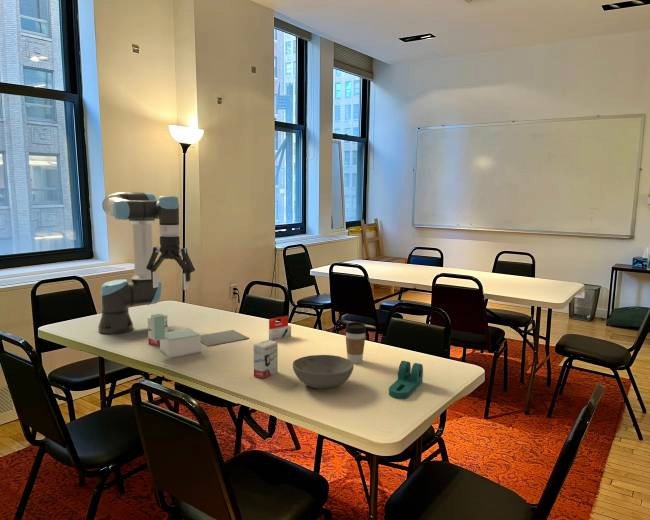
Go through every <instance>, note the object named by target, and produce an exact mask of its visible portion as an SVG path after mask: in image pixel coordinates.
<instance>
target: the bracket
mask: <svg viewBox="0 0 650 520" xmlns="http://www.w3.org/2000/svg"><path fill="white" fill-rule="evenodd" d="M398 366H399V367H398V371H397V379H396V380H395V382H393V383H392V384H391V385H390V386H389V387H388V395H389V397H391V398H393V399H396V400H404V399H407V398H409V397H410V396H411V395H412V394H413V393H414V392H415V391H416V390H417V389H418V388H419V386H421V385H422V384H423V379H424V378H423V376H424V366H423V364H422V363H418V362H414V363H413V364H412V366H411V362H410V361H408V360H407V361H406V360H401V361H400V363H399V365H398Z"/></svg>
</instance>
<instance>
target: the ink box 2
mask: <svg viewBox="0 0 650 520" xmlns="http://www.w3.org/2000/svg"><path fill="white" fill-rule="evenodd" d="M278 344H279V343H278V341H276V340H275V341H271V340H269V339H265V340H263V341H262V340H261V341H260V342H257V343H254V345H253V377H255V378H259V379H263V380H265V379H267V378H268V377H270V376H273V375H274V374H277V373H278V366H279V365H278V361H279V359H278V355H279V354H278V352H279V350H278V346H279V345H278Z"/></svg>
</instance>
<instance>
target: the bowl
mask: <svg viewBox="0 0 650 520" xmlns="http://www.w3.org/2000/svg"><path fill="white" fill-rule="evenodd" d="M354 365H355V364H353V363H352V362H351V361H350V360H348V359H347V357H346V358H345V357H343V356H339V355H332V354H331V355H330V354H317V355H316V354H313V355H307V356H302V357H300V358H297V359H295V360H293V362H292V369H293V370H292V371H294V374H295V375H296V377H297V379H298V380H299V381H301V383H303V384H305V385H306V386H308V387H311V388H314V389H321V390H325V389H326V390H327V389H333V388H337V387H340V386H341V385H343V384H344V383H346V382H347V381H348V380H349V379H350V377H351V375H352V373H353V371H354V367H355V366H354Z"/></svg>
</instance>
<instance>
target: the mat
mask: <svg viewBox="0 0 650 520" xmlns="http://www.w3.org/2000/svg"><path fill="white" fill-rule="evenodd" d="M249 339H250V337H249V336H247V335H244V334H243V333H240V332H238V331H236V330H234V329H231V330H224V331H217V332H212V333H207V334H200V341H201V344H202V345H205V346H206V347H211V346H212V347H214V346H219V345H224V344H228V343H234V342H238V341H239V342H240V341H244V340H249Z"/></svg>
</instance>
